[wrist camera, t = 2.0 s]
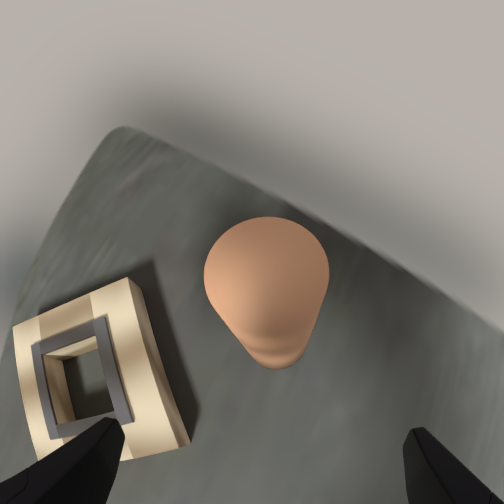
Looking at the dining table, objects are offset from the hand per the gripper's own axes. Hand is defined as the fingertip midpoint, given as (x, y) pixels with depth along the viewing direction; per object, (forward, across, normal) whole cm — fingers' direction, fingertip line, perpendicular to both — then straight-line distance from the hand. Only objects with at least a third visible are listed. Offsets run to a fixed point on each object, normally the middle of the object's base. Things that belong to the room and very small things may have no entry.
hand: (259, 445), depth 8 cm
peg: (+12, 0, +5) cm, 13 cm away
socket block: (+9, +13, +8) cm, 18 cm away
